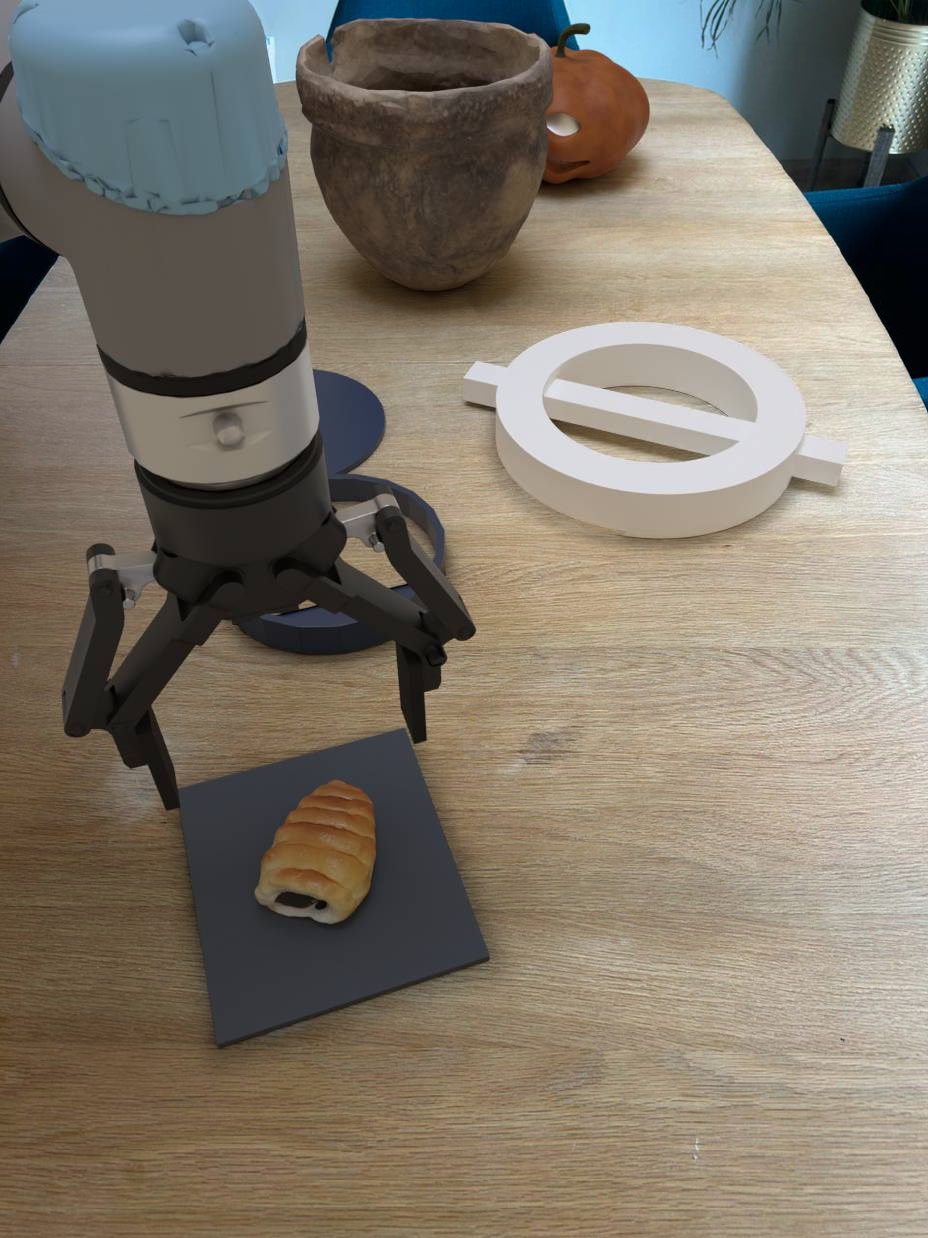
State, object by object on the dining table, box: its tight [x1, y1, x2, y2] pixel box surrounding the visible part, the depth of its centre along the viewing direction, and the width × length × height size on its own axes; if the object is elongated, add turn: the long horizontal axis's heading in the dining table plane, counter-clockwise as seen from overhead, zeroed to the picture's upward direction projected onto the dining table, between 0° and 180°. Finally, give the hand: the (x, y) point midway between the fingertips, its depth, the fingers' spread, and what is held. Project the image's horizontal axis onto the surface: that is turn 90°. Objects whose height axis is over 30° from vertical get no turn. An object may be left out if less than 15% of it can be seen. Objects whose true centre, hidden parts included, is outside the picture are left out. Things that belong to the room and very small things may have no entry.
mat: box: [178, 727, 491, 1049], centre depth 63 cm, size 18×16×1 cm
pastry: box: [255, 780, 376, 924], centre depth 62 cm, size 9×7×4 cm
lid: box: [312, 368, 386, 474], centre depth 94 cm, size 20×20×9 cm
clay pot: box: [295, 17, 554, 292], centre depth 109 cm, size 26×26×25 cm
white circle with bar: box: [462, 321, 850, 539], centre depth 93 cm, size 28×28×5 cm
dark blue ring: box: [235, 473, 447, 656], centre depth 82 cm, size 19×19×3 cm
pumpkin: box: [542, 22, 651, 185], centre depth 135 cm, size 25×25×19 cm
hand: (295, 756), depth 55 cm, fingers open, 13 cm apart
